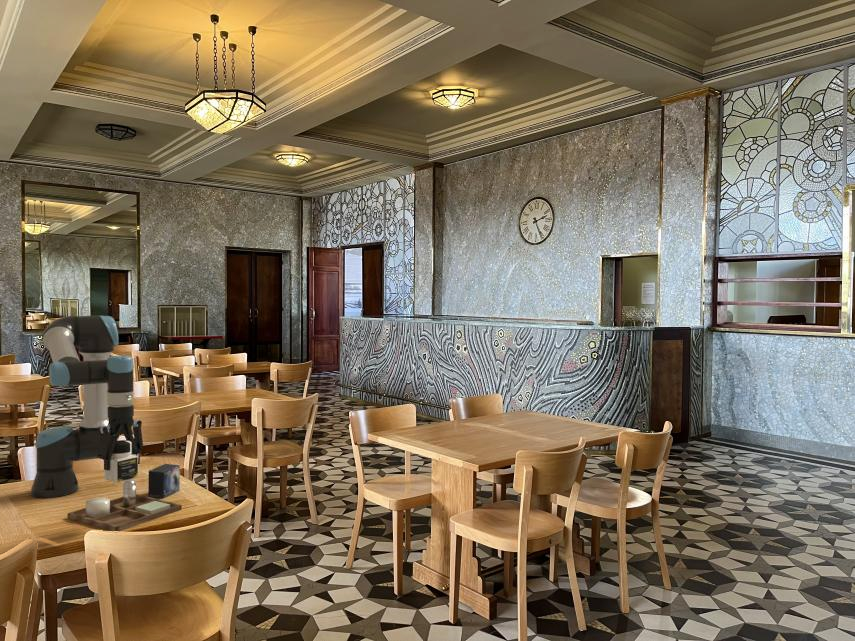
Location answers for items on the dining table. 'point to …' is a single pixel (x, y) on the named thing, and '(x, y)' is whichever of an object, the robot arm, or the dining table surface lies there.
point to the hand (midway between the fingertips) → (121, 476)
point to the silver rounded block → (97, 507)
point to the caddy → (124, 514)
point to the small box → (164, 481)
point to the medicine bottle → (124, 462)
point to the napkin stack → (152, 507)
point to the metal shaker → (129, 493)
